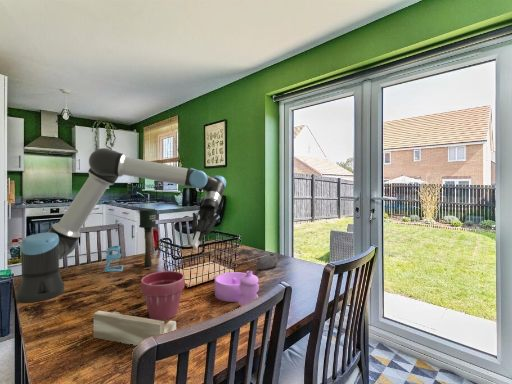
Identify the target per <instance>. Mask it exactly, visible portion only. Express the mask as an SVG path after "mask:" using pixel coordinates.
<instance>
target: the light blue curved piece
mask: <svg viewBox="0 0 512 384" xmlns="http://www.w3.org/2000/svg"><path fill="white" fill-rule="evenodd" d="M111 252H117V253H115V254H110V253H111ZM105 253H106V257H105V260H106V261H107V262H106V264H105V267H104V271H103V272H105V273H106V272H123V270H124V264H123V265H121V264H119V265H115V266H110V264H111V263H112V261H115V260H118V259H119V260H120V259H121V257H122V253H121V246H120V245H114V246H113V245H112V246H110V247H108V248H106V250H105Z"/></svg>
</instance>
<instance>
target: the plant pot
mask: <svg viewBox="0 0 512 384" xmlns="http://www.w3.org/2000/svg"><path fill="white" fill-rule="evenodd" d="M185 286H186V285H185V274H183V273H182V272H179V271H173V270H165V271H158V272H153V273H149V274H147V275H145V276H143V277H142V278H141V280H140V291H141V293H142V294H143V295H144V300H145V305H146V308H147V312H148V316H149V319H153V320H159V321H166V320H170V319H171V318H174V317H176V315H177V314H178V310H179V305H180V300H181V295H182V291H183V290H184V288H185Z"/></svg>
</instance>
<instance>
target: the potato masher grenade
mask: <svg viewBox="0 0 512 384" xmlns="http://www.w3.org/2000/svg"><path fill="white" fill-rule="evenodd" d="M156 213H157V211H156V209H155V208H142V209H139V225H138V228H139V229H140V228H142V229H143V230H144V243H145V244H144V252H145V253H144V263H143V265H144V267H145V268H148V267H151V266H152V253H151V252H152V251H151V250H152V249H151V246H152V245H151V241H152V228H156V227H157V221H156V219H157V218H156Z"/></svg>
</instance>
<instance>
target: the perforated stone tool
mask: <svg viewBox="0 0 512 384" xmlns="http://www.w3.org/2000/svg"><path fill="white" fill-rule="evenodd" d="M278 256H279V255H278V253H276V252H272V253H270V254H266V255H264V256H262V257H260V258H259V259H258V261H257V262H256V267H257V269H258V270H262V271H263V270H266V269H267V270H268V269H271V268H274V267H276V266H277V264H278V263H279V260H278Z"/></svg>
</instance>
